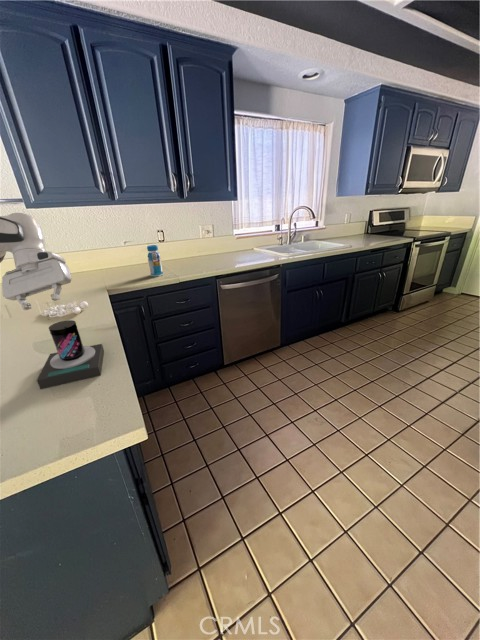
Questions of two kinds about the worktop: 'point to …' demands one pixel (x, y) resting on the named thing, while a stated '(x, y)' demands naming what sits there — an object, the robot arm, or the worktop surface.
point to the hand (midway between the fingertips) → (41, 304)
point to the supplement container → (67, 340)
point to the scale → (71, 367)
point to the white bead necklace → (62, 309)
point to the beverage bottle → (154, 261)
